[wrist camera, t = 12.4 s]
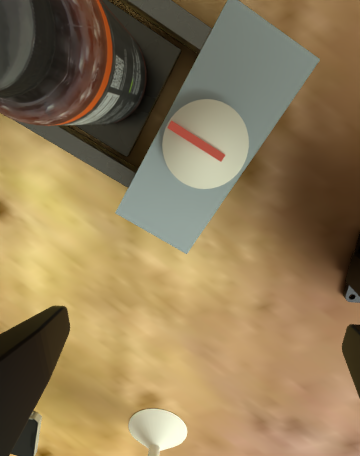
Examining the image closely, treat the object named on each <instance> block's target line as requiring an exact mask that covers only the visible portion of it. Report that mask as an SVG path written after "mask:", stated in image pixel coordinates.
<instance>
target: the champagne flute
mask: <svg viewBox="0 0 360 456" xmlns="http://www.w3.org/2000/svg"><path fill="white" fill-rule="evenodd" d="M128 427H129V431H130V433H131V435H132V436H133V437H134V438H135V439H136V440H137V441H139V442H140V443H141V444H143V445H144V446H146V447H147V448H149V452H148V456H159V454H160V451H161V450H165V449H168V448H172V447H175V446H177V445H179V444H181V443H182V442H183V441H184V440H185V438H186V436H187V428H186V425H185V423H184V422H183V421H182V420H181V419H180V418H179V417H178V416H176V415H175V414H173V413H171V412H169V411H166V410H161V409H145V410H141V411H139V412H137V413H135V414H134V415H133V416H132V417H131V418H130V421H129V426H128Z"/></svg>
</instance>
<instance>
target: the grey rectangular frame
mask: <svg viewBox="0 0 360 456" xmlns="http://www.w3.org/2000/svg"><path fill="white" fill-rule="evenodd" d="M102 1H103V2H104V3H105V5H106V6H107V7H108V8H109V9H110V11H111V12H112V13H113V14H114V15H115V16H116V18H117V19H118V20H119V21H120V22H121V24H122V25H123V26H124V27H125V28H126V30H127V31H128V32H129V33H130V35H131V36H132V37H133V38H134V40H135V41H136V43H137V44H138V46H139V48H140V50H141V52H142V55H143V57H144V61H145V65H146V87H145V92H144V95H143V97H142V99H141V102H140V104H139V105H138V107H137V108H136V109H135V111H133V113H131V114H130V115H129V116H128V117H126V118H125V119H123V120H121V121H118V122H115V123H111V124H93V125H75V126H77V127H78V128H80V129H82V130H83V131H85V132H87V133H88V134H90V135H92V136H93V137H95V138H97V139H98V140H100V141H101V142H103V143H105V144H106V145H108V146H110V147H111V148H113V149H115V150H116V151H118V152H120V153H121V154H123V155H125V156H126V157H128V156H129V154H130V152H131V150H132V148H133V146H134V144H135V142H136V140H137V138H138V136H139V134H140V132H141V130H142V128H143V126H144V124H145V122H146V120H147V118H148V116H149V114H150V112H151V111H152V109H153V107H154V105H155V103H156V101H157V99H158V97H159V95H160V93H161V91H162V89H163V87H164V85H165V83H166V81H167V79H168V77H169V75H170V73H171V71H172V69H173V67H174V65H175V63H176V61H177V59H178V57H179V55H180V53H181V50H180V49H179V48H177V47H176V46H174V45H173V44H172V43H170V42H169V41H167V40H166V39H164V38H163V37H161V36H160V35H158V34H157V33H155V32H154V31H152V30H151V29H149V28H148V27H146V26H145V25H143V24H142V23H140V22H139V21H137V20H136V19H135V18H133V17H132V16H130V15H129V14H127V13H126V12H124V11H123V10H121V9H120V8H118V7H117V6H115V5H114V4H112V3H111V2H109V1H108V0H102ZM119 1H121V2H122V3H123V4H125V5H126V6H128V7H129V8H131V9H132V10H134V11H135V12H137V13H138V14H140V15H141V16H143V17H144V18H146V19H147V20H148V21H150V22H151V23H153V24H154V25H156V26H157V27H159V28H160V29H162V30H163V31H165V32H166V33H168V34H169V35H171V36H172V37H174V38H175V39H176V40H178V41H179V42H181V43H182V44H184V45H185V46H187V47H188V48H190V49H191V50H193V51H194V52H196V53H197V54H199V53H200V52H201V50H202V48H203V46H204V44H205V42H206V40H207V38H208V36H209V35H210V33H211V29H212V28H210V27H209V26H207V25H206V24H204V23H203V22H202V21H200V20H199V19H197V18H196V17H194V16H193V15H192V14H190V13H189V12H187V11H186V10H184V9H183V8H182V7H180V6H179V5H177V4H176V3H174V2H173V1H171V0H119ZM13 120H14V119H13ZM14 121H16V120H14ZM16 122H18V123H19V124H21V125H23V126H25V127H26V128H28V129H30V130H31V131H33V132H35V133H36V134H38V135H40V136H41V137H43V138H45V139H46V140H48V141H50V142H52V143H53V144H55V145H57V146H58V147H60V148H62V149H63V150H65V151H67V152H68V153H70V154H72V155H74V156H75V157H77V158H79V159H80V160H82V161H84V162H85V163H87V164H89V165H90V166H92V167H94V168H96V169H97V170H99V171H101V172H102V173H104V174H106V175H107V176H109V177H111V178H112V179H114V180H116V181H118V182H119V183H121V184H123V185H124V186H126V187H129V186H130V184H131V182H132V180H133V178H134V177H135V175H136V173H137V171H138V168H137V167H135V166H133V165H132V164H130V163H128V162H127V161H125V160H123V159H122V158H120V157H118V156H117V155H115V154H113V153H112V152H110V151H108V150H107V149H105V148H103V147H102V146H100V145H98V144H97V143H95V142H94V141H92V140H90V139H89V138H87V137H85V136H84V135H82V134H80V133H79V132H77V131H75V130H74V129H72V128H70V127H69V126H67V125H61V126H54V125H51V126H42V125H33V124H27V123H23V122H19V121H16Z"/></svg>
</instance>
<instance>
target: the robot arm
mask: <svg viewBox="0 0 360 456" xmlns="http://www.w3.org/2000/svg"><path fill="white" fill-rule="evenodd" d="M351 294H353V295H352V296H351V297H349V296H350V295H351ZM343 296H344V298H345V299H346V300H347V301H348V302H357V303H360V234H359V238H358V241H357V245H356V249H355V252H354V253H353V254H352V258H351V262H350V265H349V269H348V273H347V277H346V286H345V290H344V293H343ZM69 331H70V323H69V317H68V311H67V308H66V307H65V306H52V307H50V308H48V309H46V310H44V311H42V312H41V313H39V314H37V315H35V316H33V317H31V318H29V319H28V320H26V321H24V322H22V323H20V324H18V325H16V326H15V327H13V328H11V329H9V330H7V331H5V332H3V333H2V334H0V456H9V455H10V453H11V451H12V449H13V448H14V446H15V444H16V442H17V440H18V438H19V436H20V434H21V433H22V431H23V429H24V427H25V425H26V423H27V421H28V419H29V418H30V416H31V414H32V412H33V410H34V408H35V406H36V404H37V403H38V401H39V399H40V397H41V395H42V393H43V391H44V389H45V388H46V386H47V384H48V382H49V380H50V378H51V375H52V373H53V371H54V369H55V366H56V364H57V361H58V359H59V356H60V354H61V352H62V349H63V347H64V344H65V342H66V339H67V337H68V335H69ZM342 352H343V355H344V358H345V360H346V363H347V366H348V368H349V371H350V374H351V377H352V379H353V382H354V385H355V387H356V390H357V393H358V395H359V398H360V325H354V324H351V325H349V326H348V327H347V329H346V333H345V336H344V340H343V343H342Z"/></svg>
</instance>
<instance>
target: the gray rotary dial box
mask: <svg viewBox="0 0 360 456" xmlns="http://www.w3.org/2000/svg"><path fill="white" fill-rule="evenodd" d="M319 61H320V59H319V58H317V57H316V56H315V55H313V54H312V53H311V52H309V51H308V50H306V49H305V48H304V47H302V46H301V45H299V44H298V43H297V42H295V41H294V40H292V39H291V38H290V37H288V36H287V35H286V34H284V33H283V32H281V31H280V30H279V29H277V28H276V27H274V26H273V25H272V24H270V23H269V22H268V21H266V20H265V19H263V18H262V17H261V16H259V15H258V14H256V13H255V12H254V11H252V10H251V9H249V8H248V7H247V6H245V5H244V4H243V3H241V2H240V1H238V0H227V2H226V4H225V6H224V8H223V10H222V12H221V14H220V16H219V17H218V19H217V21H216V23H215V25H214V27H213V29H212V31H211V33H210V35H209V36H208V38H207V40H206V42H205V44H204V46H203V48H202V50H201V52H200V53H199V55H198V57H197V59H196V61H195V63H194V65H193V67H192V69H191V71H190V72H189V74H188V76H187V78H186V80H185V82H184V84H183V86H182V88H181V89H180V91H179V93H178V95H177V97H176V99H175V101H174V103H173V105H172V106H171V108H170V110H169V112H168V114H167V116H166V118H165V120H164V122H163V124H162V125H161V127H160V129H159V131H158V133H157V135H156V137H155V139H154V141H153V142H152V144H151V146H150V148H149V150H148V152H147V154H146V156H145V158H144V160H143V161H142V163H141V165H140V167H139V169H138V171H137V173H136V175H135V177H134V178H133V180H132V182H131V184H130V186H129V188H128V190H127V192H126V194H125V196H124V197H123V199H122V201H121V203H120V205H119V207H118V209H117V211H116V214H118V215H120V216H121V217H123V218H125V219H127V220H128V221H130V222H132V223H133V224H135V225H137V226H139V227H140V228H142V229H144V230H146V231H147V232H149V233H151V234H153V235H154V236H156V237H158V238H160V239H161V240H163V241H165V242H167V243H168V244H170V245H172V246H173V247H175V248H177V249H179V250H180V251H182V252H184V253H186V254H187V253H188V252H189V250H190V249H191V247H192V246H193V244H194V243H195V241H196V240H197V238H198V237H199V236H200V234H201V233H202V231H203V230H204V228H205V227H206V225H207V224H208V222H209V221H210V219H211V218H212V217H213V215H214V214H215V212H216V211H217V209H218V208H219V206H220V205H221V203H222V202H223V201H224V199H225V198H226V196H227V195H228V193H229V192H230V190H231V189H232V187H233V186H234V184H235V183H236V182H237V180H238V179H239V177H240V176H241V174H242V173H243V171H244V170H245V168H246V167H247V166H248V164H249V163H250V161H251V160H252V158H253V157H254V155H255V154H256V152H257V151H258V149H259V148H260V147H261V145H262V144H263V142H264V141H265V139H266V138H267V136H268V135H269V133H270V132H271V131H272V129H273V128H274V126H275V125H276V123H277V122H278V120H279V119H280V117H281V116H282V114H283V113H284V112H285V110H286V109H287V107H288V106H289V104H290V103H291V101H292V100H293V98H294V97H295V96H296V94H297V93H298V91H299V90H300V88H301V87H302V85H303V84H304V82H305V81H306V80H307V78H308V77H309V75H310V74H311V72H312V71H313V69H314V68H315V66H316V65H317V63H318V62H319Z"/></svg>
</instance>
